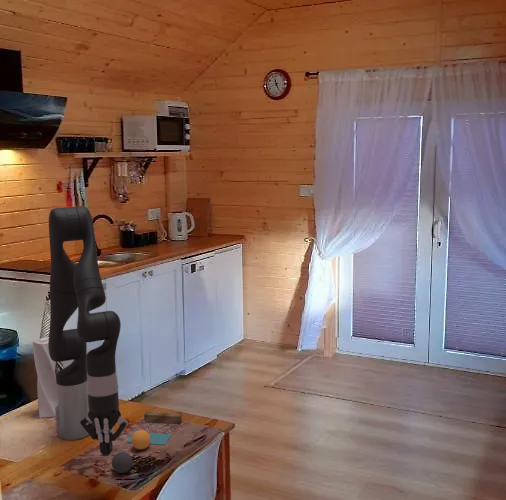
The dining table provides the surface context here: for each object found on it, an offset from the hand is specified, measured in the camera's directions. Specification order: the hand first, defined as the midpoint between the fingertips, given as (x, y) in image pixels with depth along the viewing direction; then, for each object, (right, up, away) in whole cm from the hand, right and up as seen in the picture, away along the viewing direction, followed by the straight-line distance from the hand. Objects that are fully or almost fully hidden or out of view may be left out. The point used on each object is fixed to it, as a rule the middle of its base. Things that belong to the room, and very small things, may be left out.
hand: (106, 454), depth 163 cm
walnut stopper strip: (+8, -3, +42) cm, 43 cm away
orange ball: (+5, -3, +23) cm, 24 cm away
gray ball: (+2, -5, +10) cm, 11 cm away
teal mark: (+6, -5, +30) cm, 31 cm away
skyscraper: (-31, -3, +50) cm, 59 cm away
